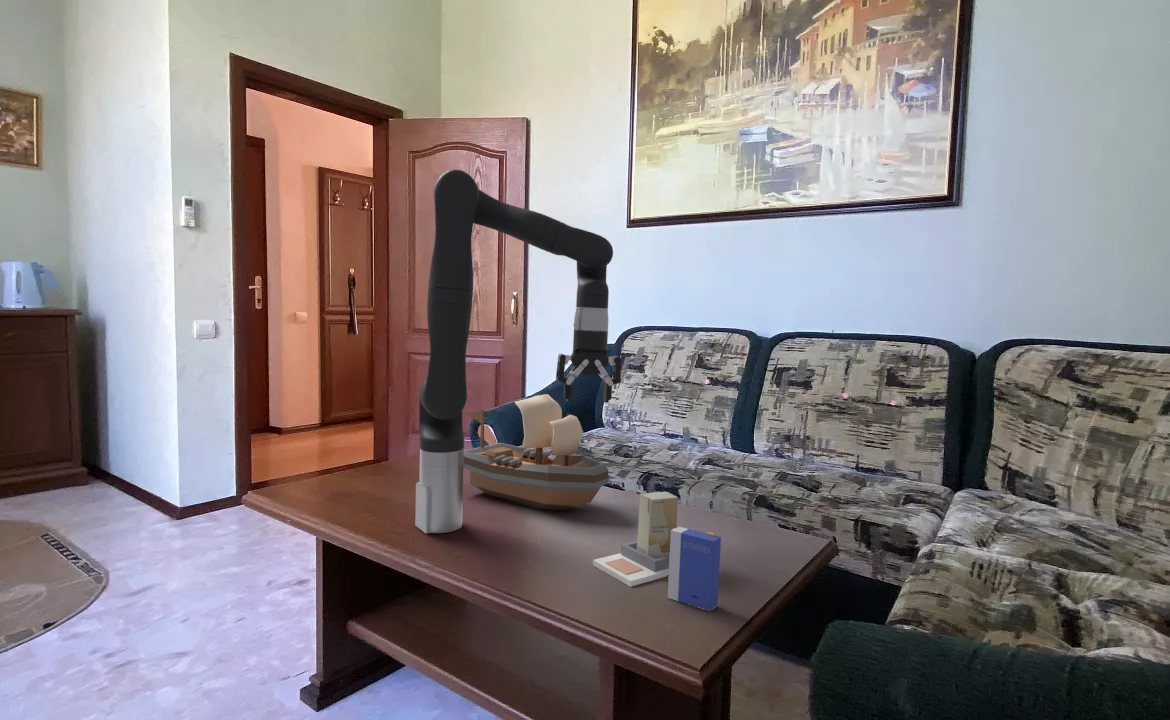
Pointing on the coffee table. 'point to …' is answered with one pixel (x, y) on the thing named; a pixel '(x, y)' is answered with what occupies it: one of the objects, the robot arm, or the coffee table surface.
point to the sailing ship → (537, 461)
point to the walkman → (694, 567)
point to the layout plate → (633, 565)
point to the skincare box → (656, 523)
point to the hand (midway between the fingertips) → (587, 401)
